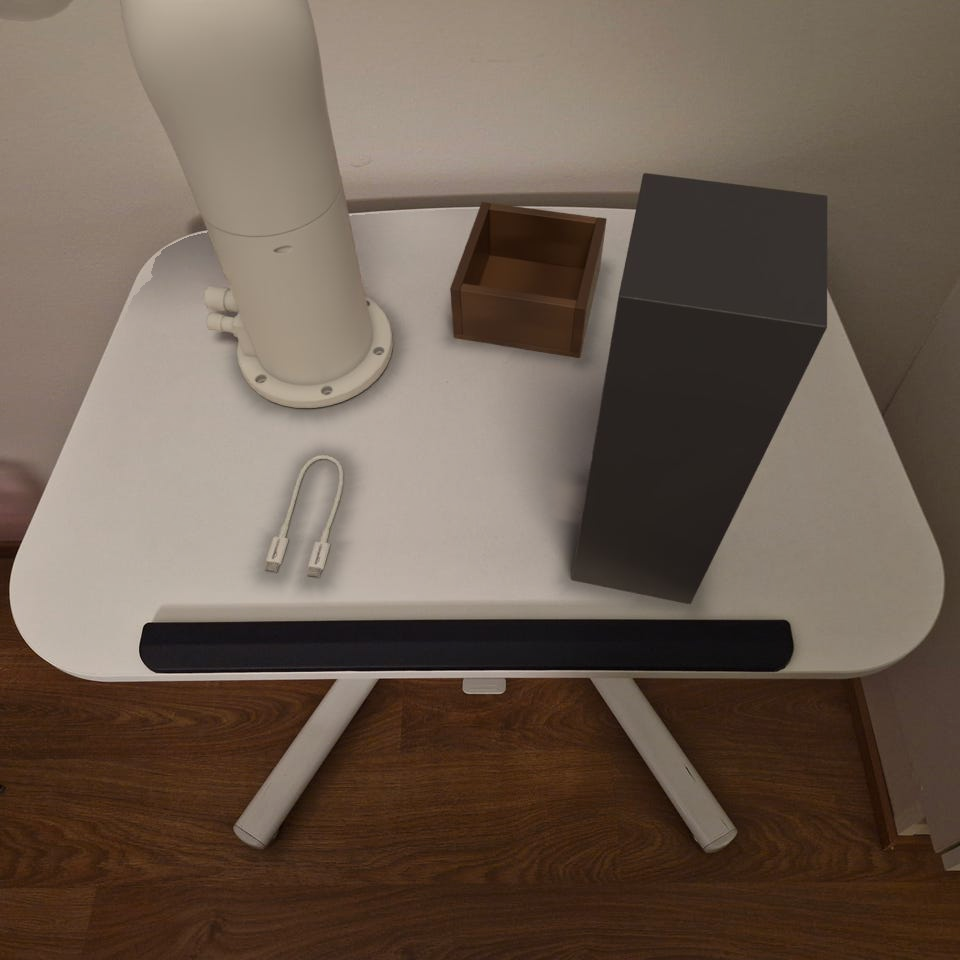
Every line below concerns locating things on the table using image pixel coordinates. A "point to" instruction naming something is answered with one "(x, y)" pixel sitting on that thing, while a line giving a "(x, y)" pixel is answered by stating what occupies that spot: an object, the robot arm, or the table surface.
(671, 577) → the stand
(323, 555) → the electronic cable
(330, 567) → the table surface
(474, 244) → the crate
